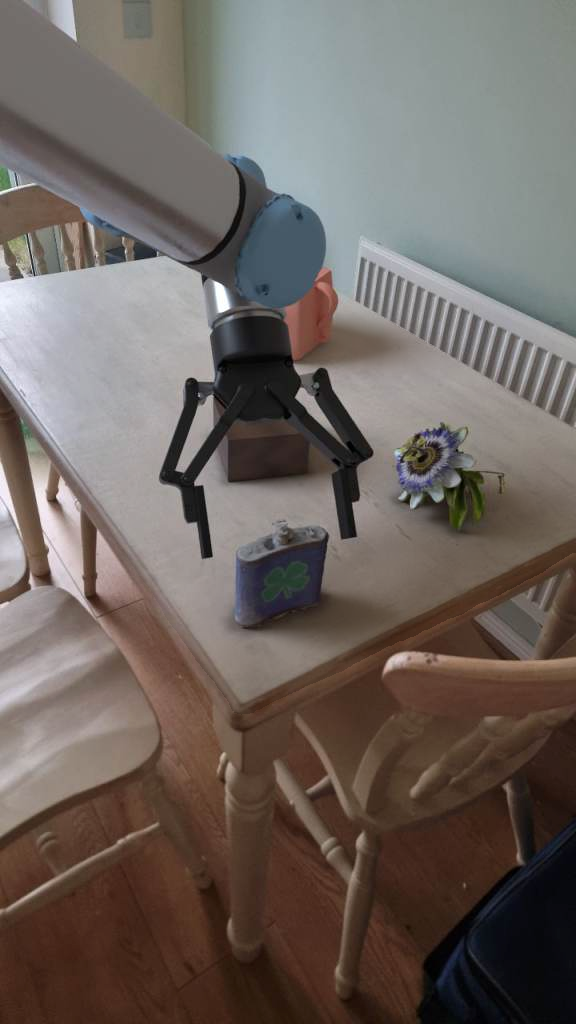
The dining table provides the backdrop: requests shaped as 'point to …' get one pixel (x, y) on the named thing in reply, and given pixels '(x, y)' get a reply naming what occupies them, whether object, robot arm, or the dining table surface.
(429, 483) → the passion flower
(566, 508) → the dining table surface
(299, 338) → the teapot
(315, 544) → the flask
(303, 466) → the walnut block
